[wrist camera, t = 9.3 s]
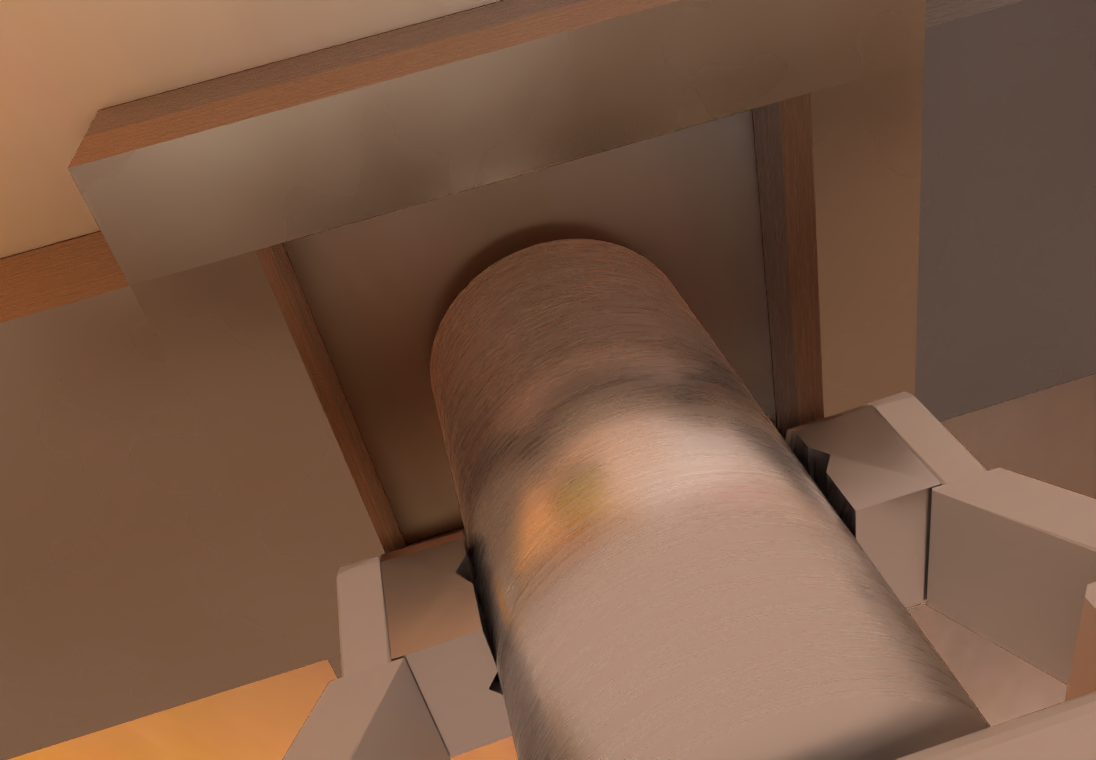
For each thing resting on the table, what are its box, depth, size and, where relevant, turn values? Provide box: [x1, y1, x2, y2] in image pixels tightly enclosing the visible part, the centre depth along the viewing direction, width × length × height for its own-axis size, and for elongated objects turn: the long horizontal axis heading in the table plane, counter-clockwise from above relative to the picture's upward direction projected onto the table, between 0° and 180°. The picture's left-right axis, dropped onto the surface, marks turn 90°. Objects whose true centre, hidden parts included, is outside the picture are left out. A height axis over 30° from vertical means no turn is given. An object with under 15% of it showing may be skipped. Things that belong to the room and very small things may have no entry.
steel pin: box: [430, 239, 991, 760], centre depth 11 cm, size 4×4×8 cm
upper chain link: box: [0, 0, 926, 760], centre depth 14 cm, size 20×10×2 cm, turn 102°
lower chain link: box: [85, 0, 1096, 550], centre depth 15 cm, size 20×10×2 cm, turn 102°
